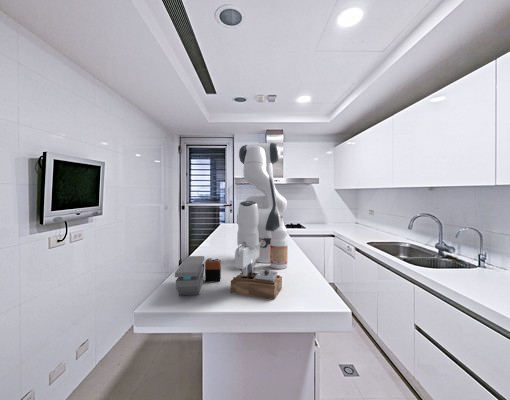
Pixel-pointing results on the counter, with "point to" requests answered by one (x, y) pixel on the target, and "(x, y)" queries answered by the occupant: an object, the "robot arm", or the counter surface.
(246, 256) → the robot arm
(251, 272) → the grey rounded cylinder
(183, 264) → the grey storage box
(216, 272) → the battery
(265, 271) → the square lid with knob
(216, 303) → the counter surface
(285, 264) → the fruit juice
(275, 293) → the socket block
